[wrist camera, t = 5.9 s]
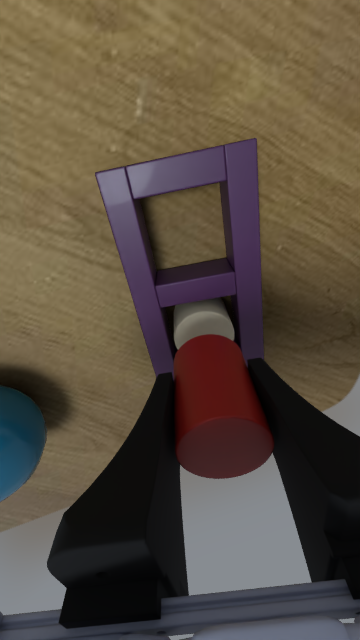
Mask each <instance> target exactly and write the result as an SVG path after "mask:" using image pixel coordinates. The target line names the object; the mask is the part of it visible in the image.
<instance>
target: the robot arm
mask: <svg viewBox="0 0 360 640" xmlns="http://www.w3.org/2000/svg"><path fill="white" fill-rule="evenodd" d="M247 363H248V370H249V373H250V375H251V378H252V381H253V383H254V386H255V389H256V391H257V394H258V397H259V399H260V402H261V405H262V407H263V410H264V413H265V415H266V418H267V421H268V423H269V426H270V429H271V431H272V434H273V437H274V449H273V452H272V453H273V455H274V458H275V460H276V463H277V466H278V469H279V472H280V475H281V478H282V482H283V484H284V488H285V491H286V494H287V498H288V501H289V504H290V508H291V511H292V514H293V518H294V521H295V524H296V528H297V531H298V535H299V538H300V542H301V545H302V549H303V552H304V556H305V559H306V563H307V567H308V570H309V574H310V577H311V581H312V583H303V584H294V585H285V586H275V587H266V588H257V589H247V590H238V591H228V592H219V593H210V594H200V595H191V596H189V594H188V582H187V571H186V560H185V547H184V534H183V521H182V507H181V490H180V463H179V462H178V460H177V458H176V455H175V426H174V379H173V376H172V372H167V373H161V374H158V376H157V378H156V381H155V384H154V386H153V389H152V391H151V394H150V396H149V398H148V400H147V402H146V405H145V407H144V409H143V411H142V413H141V415H140V416H139V418H138V420H137V422H136V424H135V426H134V427H133V429H132V431H131V432H130V434H129V436H128V437H127V439H126V440H125V442H124V443H123V445H122V446H121V448H120V449H119V451H118V452H117V453H116V455H115V456H114V458H113V459H112V460H111V462H110V463H109V464H108V465H107V467H106V468H105V469H104V470H103V472H102V473H101V474H100V475H99V476H98V477H97V479H96V480H95V481H94V482H93V483H92V485H91V486H90V487H89V488H88V489H87V490H86V491H85V492H84V493H83V494H82V495H81V496H80V497H79V498H78V500H77V501H76V502H75V503H74V504H73V505H72V506H71V507H70V508H69V509H68V510H67V511H66V512H65V513H64V514H63V517H62V520H61V522H60V524H59V527H58V529H57V532H56V535H55V538H54V541H53V545H52V548H51V551H50V555H49V558H48V561H47V567H48V570H49V571H50V573H51V574H52V575H53V576H54V577H55V578H56V579H57V580H59V581H60V582H61V583H62V584H63V585H64V586H65V587H66V588H67V590H66V594H65V598H64V602H63V606H62V609H60V610H50V611H41V612H32V613H22V614H13V615H3V614H2V613H1V612H0V640H170V638H169V637H168V636H173V635H183V634H193V633H194V635H193V637H191V638H186V639H181V640H360V437H359V436H358V435H356V434H354V433H353V432H351V431H349V430H348V429H346V428H344V427H343V426H341V425H339V424H338V423H336V422H335V421H333V420H332V419H330V418H329V417H328V416H326V415H325V414H323V413H322V412H321V411H319V410H318V409H316V408H315V407H314V406H312V405H311V404H310V403H309V402H307V401H306V400H305V399H304V398H303V397H301V396H300V395H299V394H298V393H297V392H295V391H294V390H293V389H292V388H291V387H290V386H289V385H288V384H287V383H286V382H284V381H283V380H282V379H281V378H280V377H279V376H278V375H277V374H276V373H275V372H274V371H273V370H272V369H271V368H270V366H269V365H268V364H267V363H266V362H265V361H264V360H263V359H262V358H261V357H260V358H254V359H248V360H247ZM348 618H355V620H354V622H355V623H342V622H341V621H339V620H338V619H348Z"/></svg>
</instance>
